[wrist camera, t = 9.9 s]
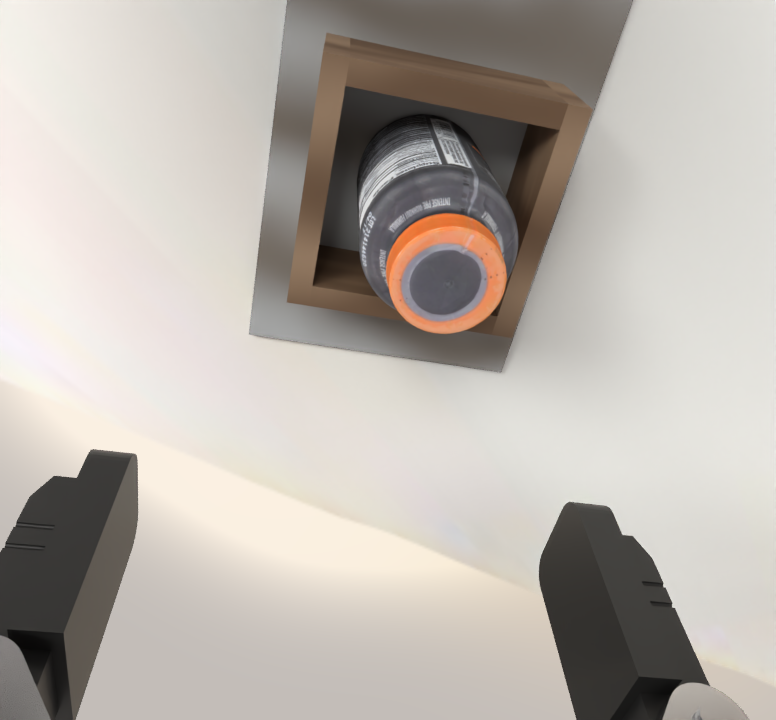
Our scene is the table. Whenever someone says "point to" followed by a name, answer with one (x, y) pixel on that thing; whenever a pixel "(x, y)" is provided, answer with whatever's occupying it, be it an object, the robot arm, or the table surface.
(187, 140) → the table surface
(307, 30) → the well
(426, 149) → the pill bottle
